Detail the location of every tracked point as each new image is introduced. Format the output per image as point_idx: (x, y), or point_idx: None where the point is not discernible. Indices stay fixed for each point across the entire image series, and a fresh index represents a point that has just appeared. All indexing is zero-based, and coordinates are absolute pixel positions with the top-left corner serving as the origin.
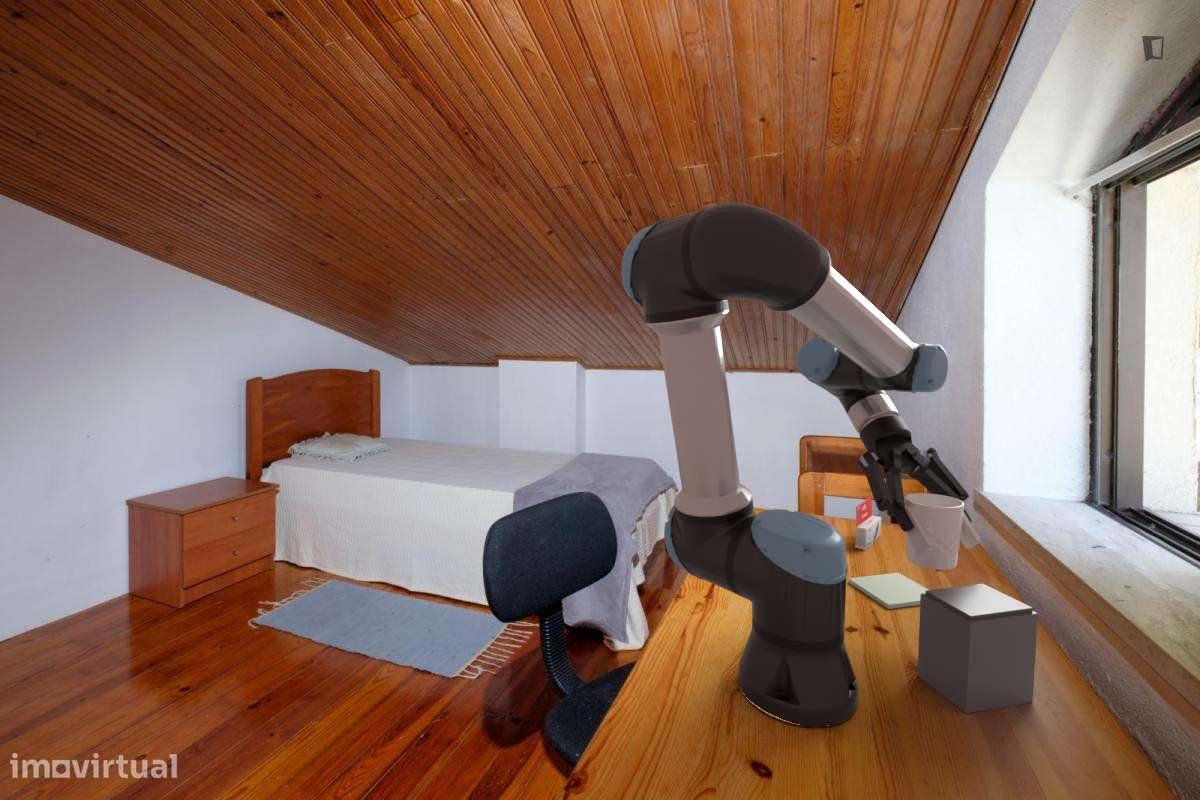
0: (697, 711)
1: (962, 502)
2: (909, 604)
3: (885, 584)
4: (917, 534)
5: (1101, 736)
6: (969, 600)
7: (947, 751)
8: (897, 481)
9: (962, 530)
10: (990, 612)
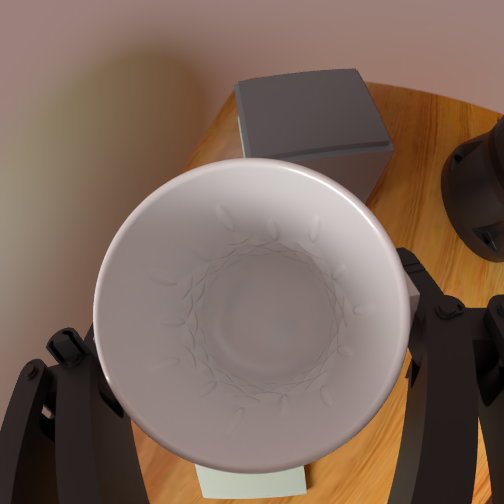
0: None
1: (114, 245)
2: None
3: None
4: None
5: (229, 119)
6: (328, 101)
7: (383, 111)
8: (451, 473)
9: None
10: (318, 72)
